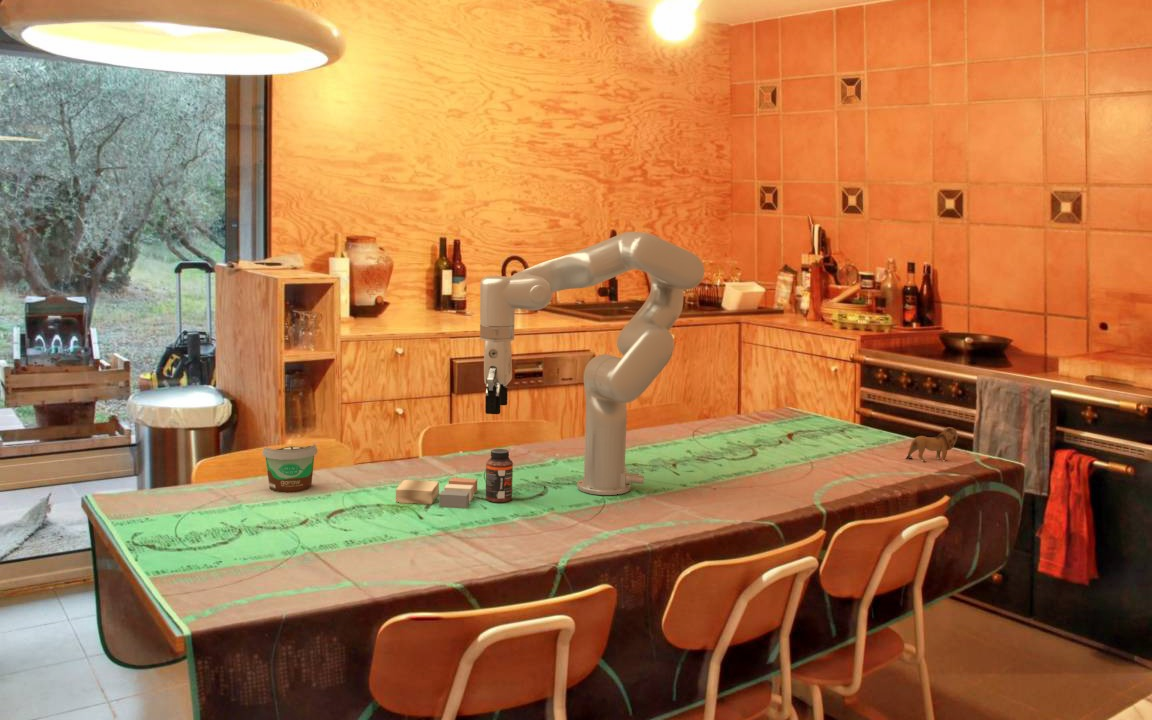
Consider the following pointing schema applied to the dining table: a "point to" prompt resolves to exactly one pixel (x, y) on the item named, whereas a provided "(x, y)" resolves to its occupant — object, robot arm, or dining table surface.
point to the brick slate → (454, 499)
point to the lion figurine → (934, 443)
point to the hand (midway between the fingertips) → (496, 409)
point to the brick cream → (460, 489)
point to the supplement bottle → (499, 476)
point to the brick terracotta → (464, 482)
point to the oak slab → (417, 491)
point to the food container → (290, 468)
